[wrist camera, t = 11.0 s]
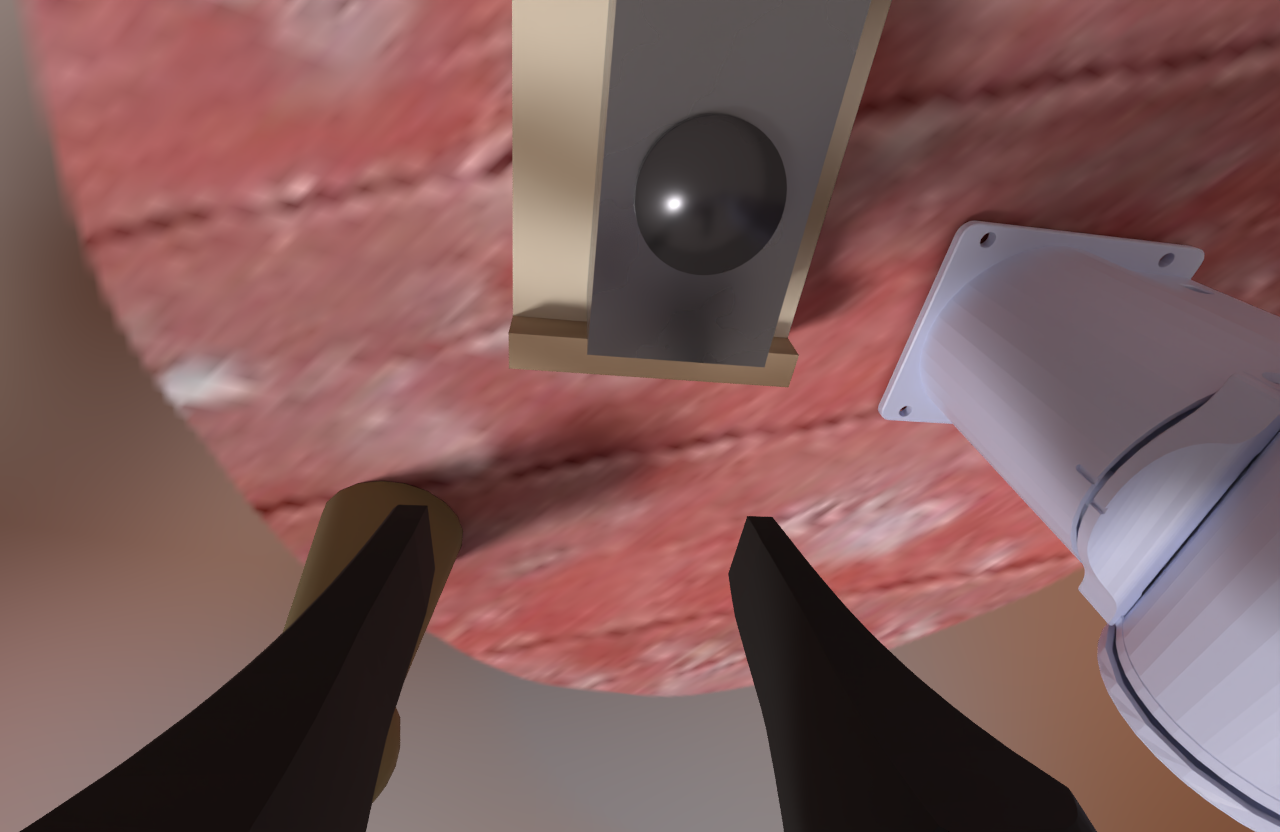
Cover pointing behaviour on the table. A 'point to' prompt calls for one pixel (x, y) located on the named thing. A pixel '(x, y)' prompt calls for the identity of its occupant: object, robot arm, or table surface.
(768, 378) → the stand
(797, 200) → the housing
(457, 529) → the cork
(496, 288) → the table surface
